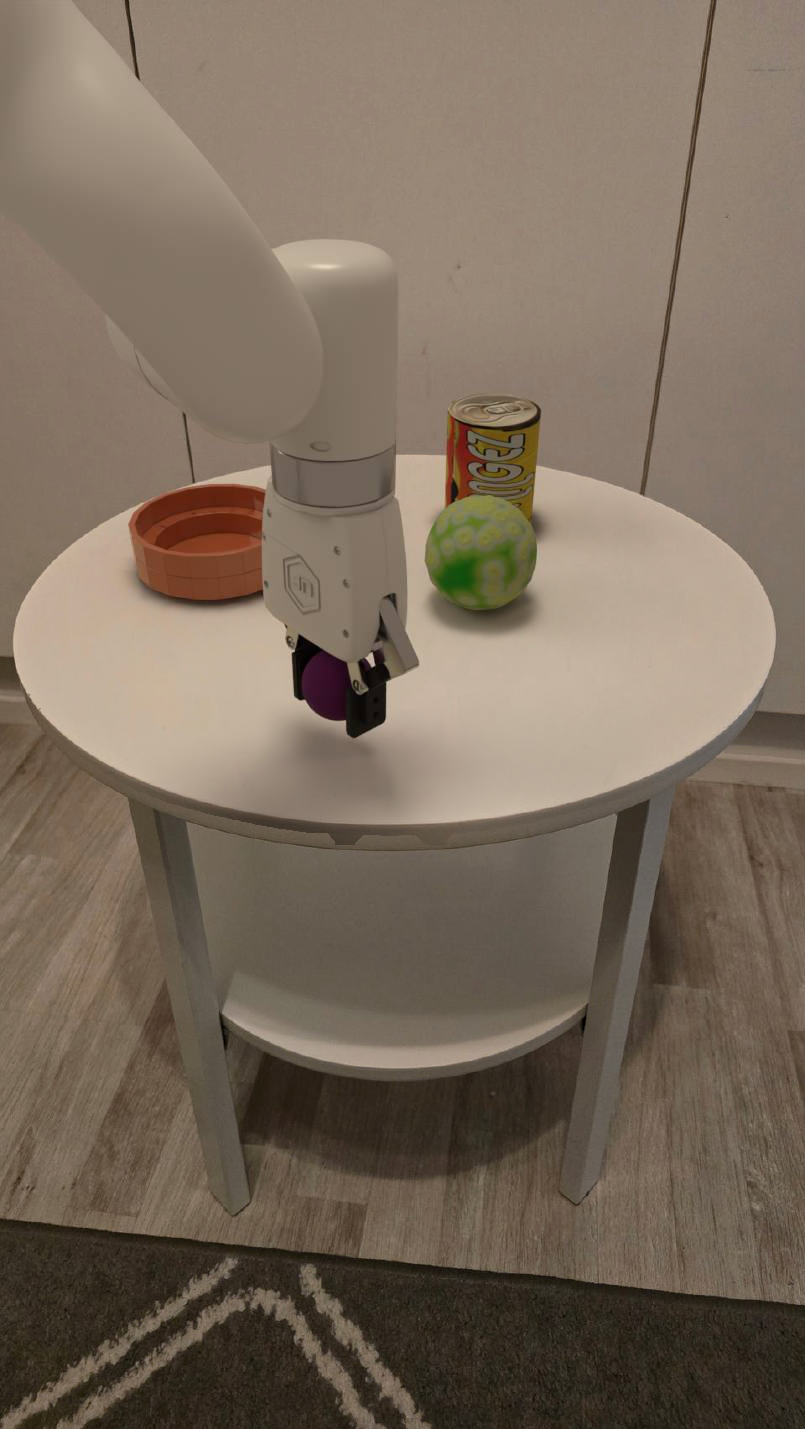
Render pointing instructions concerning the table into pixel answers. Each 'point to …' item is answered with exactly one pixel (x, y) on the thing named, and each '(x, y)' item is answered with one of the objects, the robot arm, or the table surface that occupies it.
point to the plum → (327, 685)
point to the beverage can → (492, 449)
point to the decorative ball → (481, 552)
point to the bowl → (201, 541)
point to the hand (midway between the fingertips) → (339, 708)
